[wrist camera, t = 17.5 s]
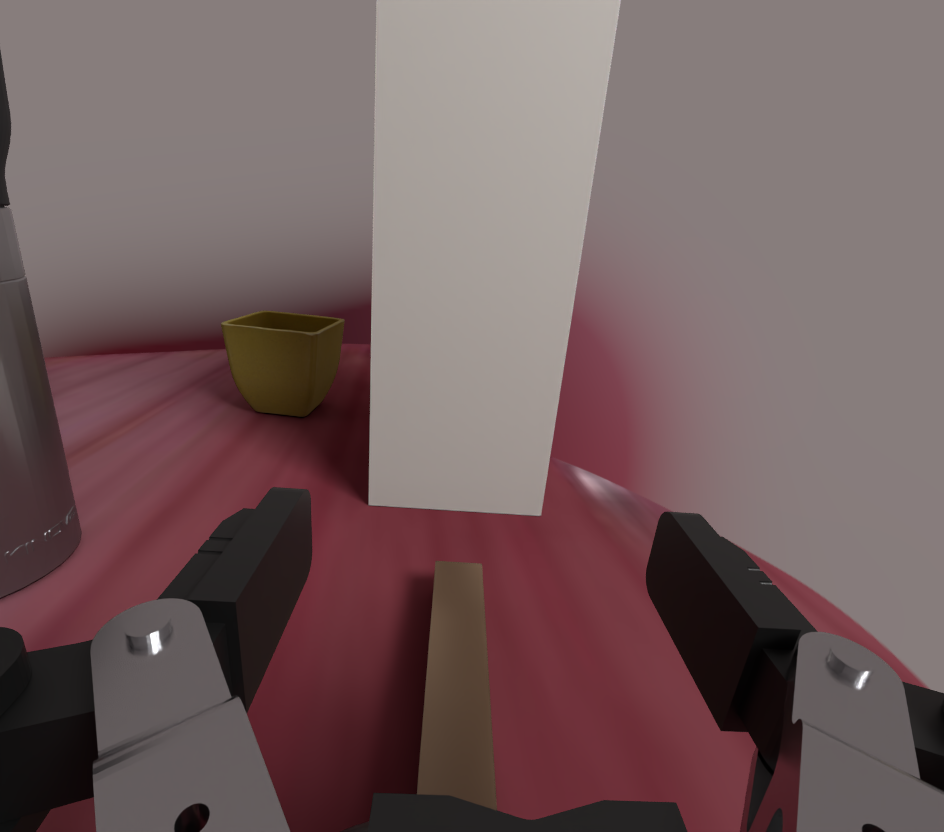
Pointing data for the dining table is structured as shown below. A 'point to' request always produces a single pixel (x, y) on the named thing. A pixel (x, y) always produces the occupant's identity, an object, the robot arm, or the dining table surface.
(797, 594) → the dining table surface
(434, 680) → the walnut bar
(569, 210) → the off-white column
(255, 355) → the flower pot
